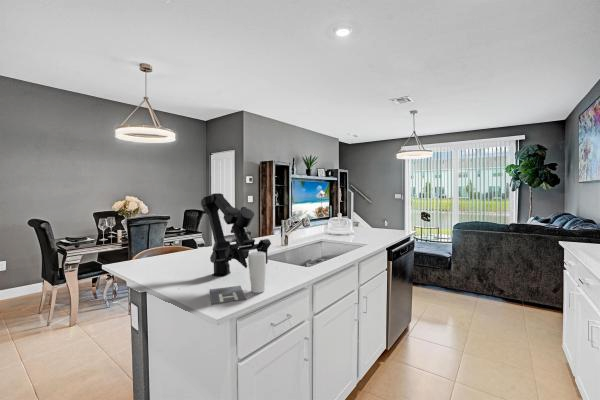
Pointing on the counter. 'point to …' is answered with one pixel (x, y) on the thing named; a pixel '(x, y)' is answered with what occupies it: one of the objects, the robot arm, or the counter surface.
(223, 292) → the board
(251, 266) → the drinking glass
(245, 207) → the robot arm
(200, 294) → the counter surface
